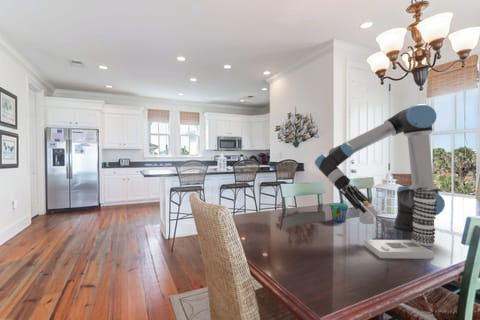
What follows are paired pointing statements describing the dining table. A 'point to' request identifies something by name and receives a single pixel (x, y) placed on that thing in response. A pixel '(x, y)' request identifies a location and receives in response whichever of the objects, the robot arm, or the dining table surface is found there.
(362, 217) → the egg topped pedestal
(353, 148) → the robot arm
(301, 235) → the dining table surface
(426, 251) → the socket plate
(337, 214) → the snack cup
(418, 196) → the decorative candle
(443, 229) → the dining table surface
